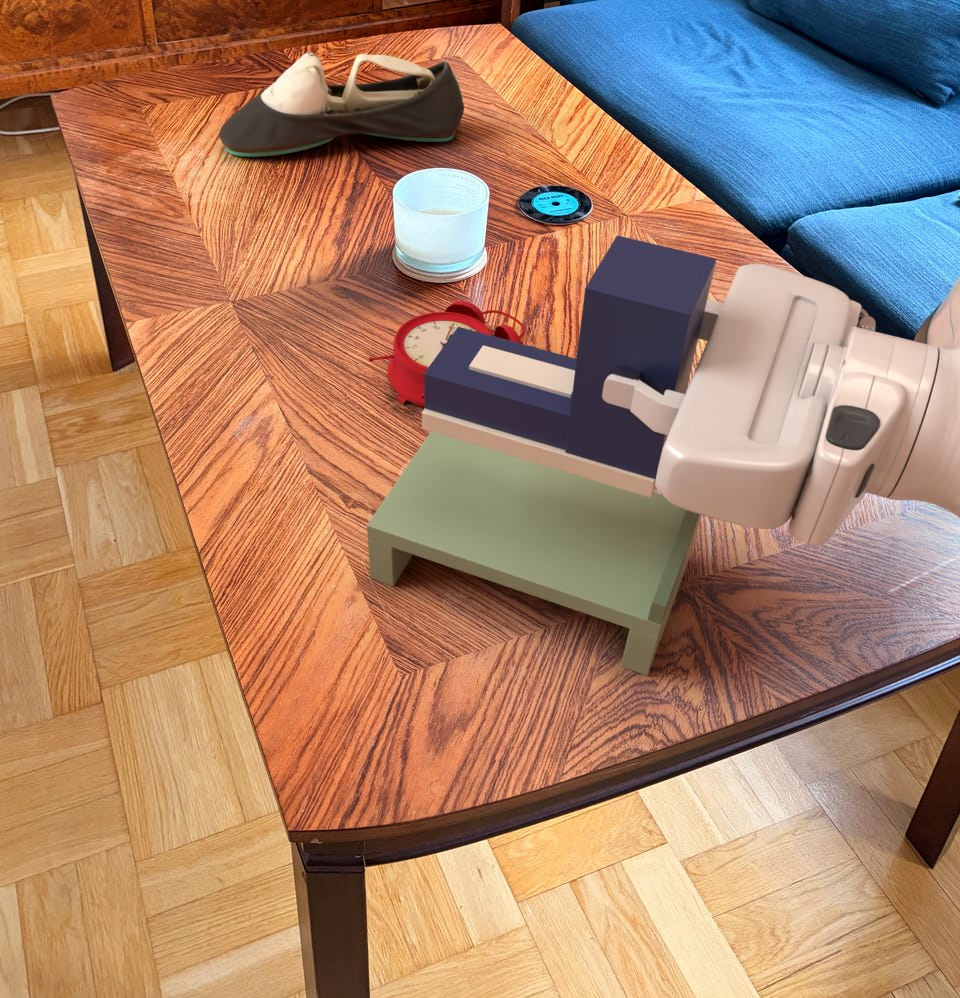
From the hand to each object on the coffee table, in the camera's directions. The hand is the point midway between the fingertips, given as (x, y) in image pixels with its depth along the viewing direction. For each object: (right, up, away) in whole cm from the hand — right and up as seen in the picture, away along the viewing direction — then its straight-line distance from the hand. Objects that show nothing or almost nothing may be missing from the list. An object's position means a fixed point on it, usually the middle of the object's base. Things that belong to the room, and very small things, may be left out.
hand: (624, 347), depth 60 cm
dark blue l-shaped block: (-4, -5, +7) cm, 9 cm away
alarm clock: (-11, +3, +34) cm, 36 cm away
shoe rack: (-5, -15, +17) cm, 23 cm away
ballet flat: (-26, +36, +65) cm, 79 cm away
